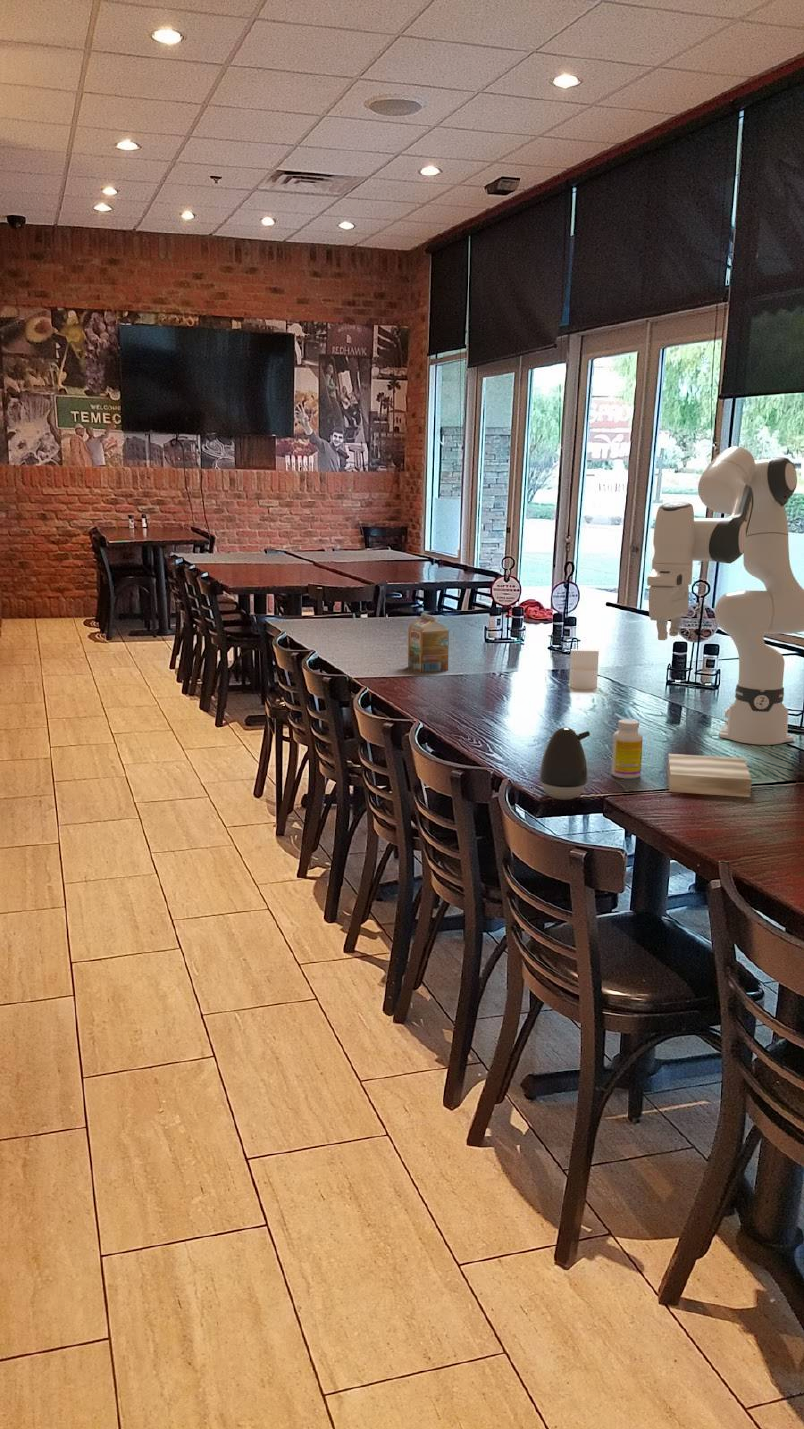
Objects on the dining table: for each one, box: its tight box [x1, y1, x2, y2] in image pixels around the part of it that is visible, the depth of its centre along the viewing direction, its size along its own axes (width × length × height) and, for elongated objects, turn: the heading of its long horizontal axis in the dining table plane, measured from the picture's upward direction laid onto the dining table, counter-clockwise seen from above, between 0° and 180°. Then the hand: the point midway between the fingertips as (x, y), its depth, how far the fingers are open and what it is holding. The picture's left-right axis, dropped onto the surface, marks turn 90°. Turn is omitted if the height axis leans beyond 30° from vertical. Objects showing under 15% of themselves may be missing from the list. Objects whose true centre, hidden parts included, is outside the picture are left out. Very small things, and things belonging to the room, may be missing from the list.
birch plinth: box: [666, 753, 753, 798], centre depth 245 cm, size 18×17×4 cm
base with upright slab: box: [568, 648, 600, 690], centre depth 353 cm, size 9×9×12 cm
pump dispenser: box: [539, 727, 591, 801], centre depth 233 cm, size 10×10×15 cm
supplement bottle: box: [611, 718, 644, 780], centre depth 249 cm, size 7×7×13 cm
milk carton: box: [407, 613, 450, 673], centre depth 381 cm, size 11×11×19 cm
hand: (668, 637), depth 245 cm, fingers open, 8 cm apart
